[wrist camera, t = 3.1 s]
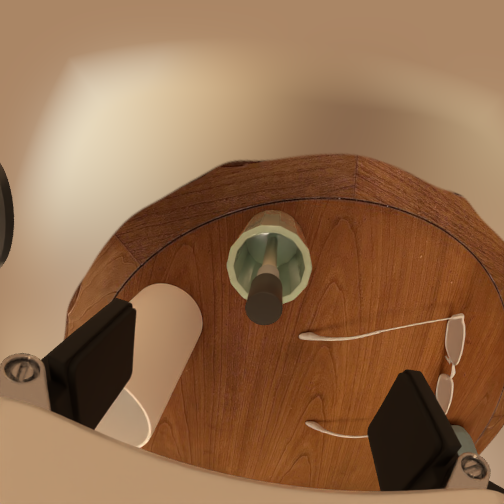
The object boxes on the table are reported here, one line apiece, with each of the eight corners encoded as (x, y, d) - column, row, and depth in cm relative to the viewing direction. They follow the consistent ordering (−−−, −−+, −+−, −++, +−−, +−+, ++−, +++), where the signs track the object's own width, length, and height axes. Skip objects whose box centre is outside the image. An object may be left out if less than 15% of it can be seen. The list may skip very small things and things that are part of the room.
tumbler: (236, 261, 32) (219, 295, 23) (250, 202, 30) (237, 215, 22) (293, 276, 32) (297, 315, 23) (309, 217, 30) (321, 236, 21)
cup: (217, 329, 34) (175, 436, 18) (164, 360, 36) (108, 457, 20) (170, 268, 33) (89, 344, 17) (120, 306, 34) (37, 384, 19)
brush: (260, 248, 31) (241, 320, 16) (265, 229, 30) (250, 287, 15) (279, 252, 31) (277, 329, 16) (284, 234, 30) (286, 296, 15)
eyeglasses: (435, 403, 34) (445, 422, 30) (305, 427, 36) (306, 449, 33) (452, 301, 31) (468, 316, 27) (297, 325, 33) (299, 344, 29)
